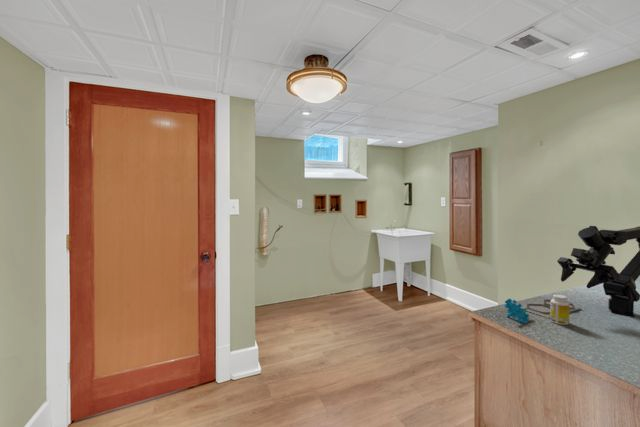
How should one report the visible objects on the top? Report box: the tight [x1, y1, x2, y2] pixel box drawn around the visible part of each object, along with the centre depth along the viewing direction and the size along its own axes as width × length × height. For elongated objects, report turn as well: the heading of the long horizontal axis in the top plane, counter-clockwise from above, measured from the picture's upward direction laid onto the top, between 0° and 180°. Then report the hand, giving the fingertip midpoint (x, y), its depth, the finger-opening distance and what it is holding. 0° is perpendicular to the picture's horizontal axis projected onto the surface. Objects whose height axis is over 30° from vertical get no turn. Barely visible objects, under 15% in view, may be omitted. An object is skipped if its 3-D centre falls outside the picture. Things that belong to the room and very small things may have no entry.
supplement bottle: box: [549, 294, 570, 326], centre depth 108 cm, size 6×6×10 cm
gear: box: [504, 298, 530, 325], centre depth 112 cm, size 11×6×10 cm
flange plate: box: [520, 298, 581, 319], centre depth 121 cm, size 22×12×2 cm, turn 113°
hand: (574, 284), depth 110 cm, fingers open, 9 cm apart
